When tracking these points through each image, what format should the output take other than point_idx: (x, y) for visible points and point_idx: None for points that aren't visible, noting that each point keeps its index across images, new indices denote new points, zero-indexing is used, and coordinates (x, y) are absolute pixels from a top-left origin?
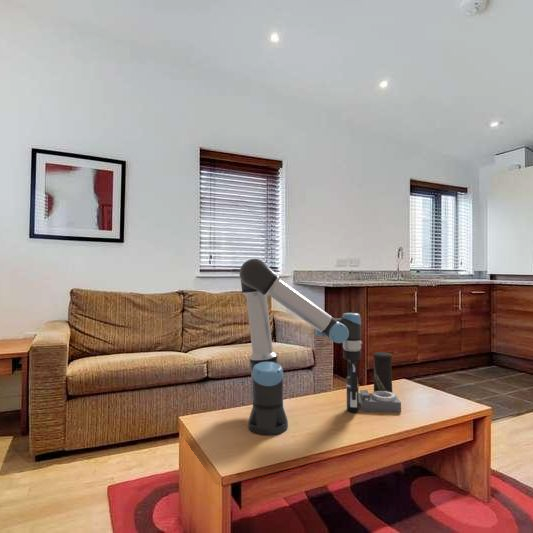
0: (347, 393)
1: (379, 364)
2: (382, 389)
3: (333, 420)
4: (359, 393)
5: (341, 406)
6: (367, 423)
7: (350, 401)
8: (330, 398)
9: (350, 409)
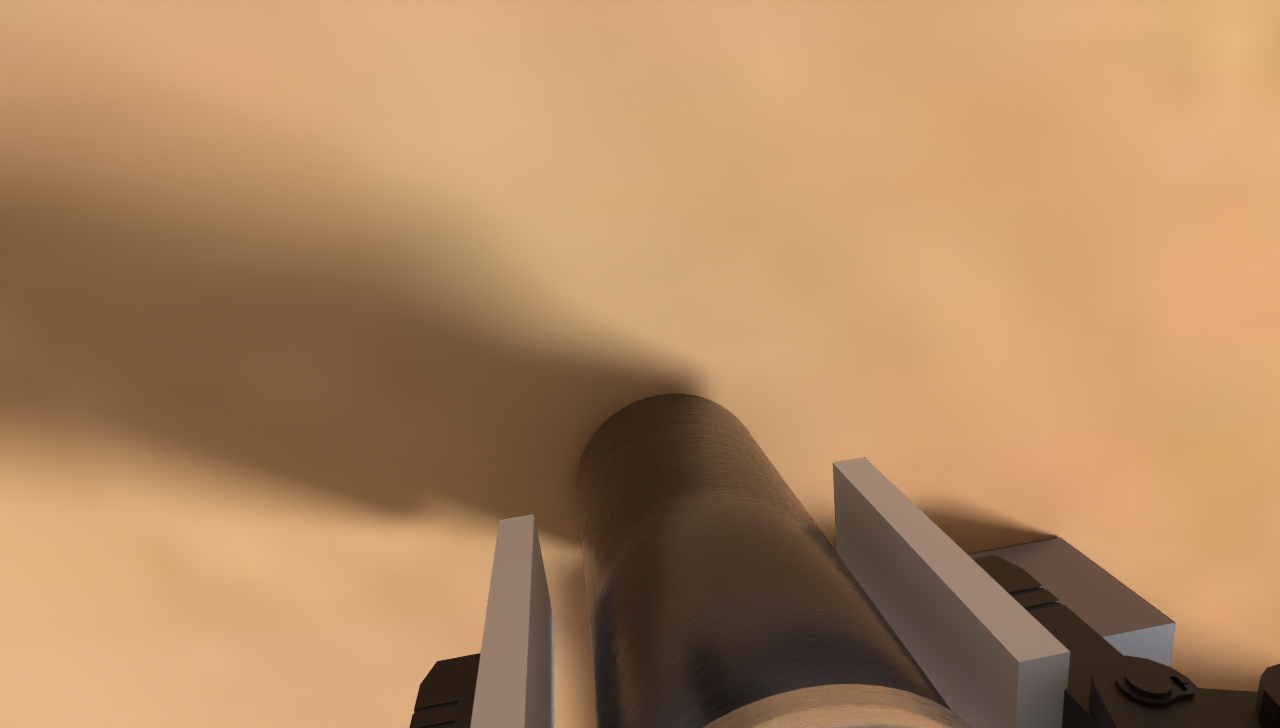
0: (665, 587)
1: None
2: None
3: (125, 207)
4: (1150, 637)
5: (839, 300)
6: (223, 698)
7: (492, 583)
8: (1219, 78)
9: (585, 479)
